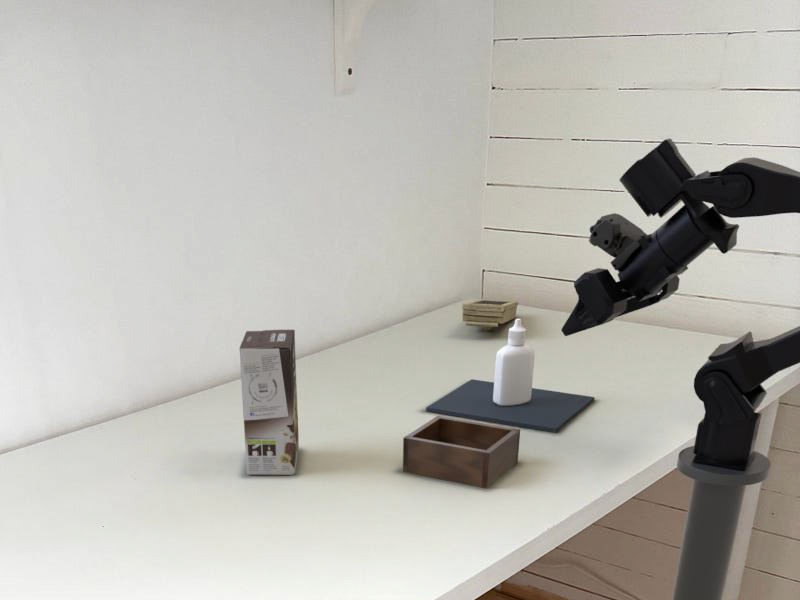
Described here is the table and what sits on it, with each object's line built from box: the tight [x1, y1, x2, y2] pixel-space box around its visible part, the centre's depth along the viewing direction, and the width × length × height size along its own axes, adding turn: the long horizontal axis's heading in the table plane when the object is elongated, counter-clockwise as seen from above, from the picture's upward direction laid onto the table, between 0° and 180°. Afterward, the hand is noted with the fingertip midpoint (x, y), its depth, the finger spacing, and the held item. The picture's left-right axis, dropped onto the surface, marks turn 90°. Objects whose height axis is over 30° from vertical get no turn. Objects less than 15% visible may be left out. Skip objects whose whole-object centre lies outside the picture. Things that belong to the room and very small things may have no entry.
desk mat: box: [425, 378, 595, 433], centre depth 146 cm, size 20×16×1 cm
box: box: [461, 299, 519, 331], centre depth 187 cm, size 8×22×5 cm, turn 164°
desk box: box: [402, 415, 521, 489], centre depth 125 cm, size 12×10×4 cm
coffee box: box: [239, 329, 300, 476], centre depth 125 cm, size 9×6×16 cm
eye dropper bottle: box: [493, 318, 535, 406], centre depth 143 cm, size 4×6×12 cm
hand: (581, 326), depth 132 cm, fingers open, 9 cm apart
